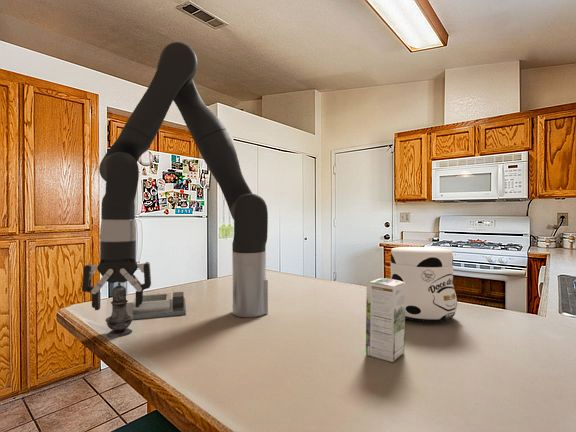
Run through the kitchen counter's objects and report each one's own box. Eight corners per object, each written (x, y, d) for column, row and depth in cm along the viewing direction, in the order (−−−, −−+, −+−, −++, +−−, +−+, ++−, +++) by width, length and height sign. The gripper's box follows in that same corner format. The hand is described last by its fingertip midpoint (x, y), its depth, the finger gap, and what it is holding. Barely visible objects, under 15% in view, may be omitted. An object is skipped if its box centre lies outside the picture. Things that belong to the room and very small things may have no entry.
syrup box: (377, 346, 71) (377, 277, 70) (405, 353, 67) (405, 280, 67) (365, 355, 66) (365, 281, 66) (394, 363, 62) (394, 285, 62)
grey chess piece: (122, 338, 76) (121, 285, 76) (99, 336, 77) (98, 284, 77) (138, 329, 82) (138, 280, 81) (117, 328, 83) (116, 279, 83)
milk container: (462, 330, 80) (462, 254, 80) (385, 323, 85) (385, 252, 85) (452, 310, 96) (452, 247, 96) (388, 305, 102) (388, 245, 102)
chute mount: (185, 302, 107) (185, 288, 107) (185, 314, 93) (185, 299, 93) (122, 307, 101) (122, 293, 101) (113, 321, 88) (113, 305, 88)
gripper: (152, 237, 85) (151, 302, 85) (88, 238, 81) (87, 306, 81) (149, 239, 78) (149, 310, 78) (79, 240, 74) (78, 315, 74)
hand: (117, 308), depth 79 cm, fingers open, 8 cm apart
